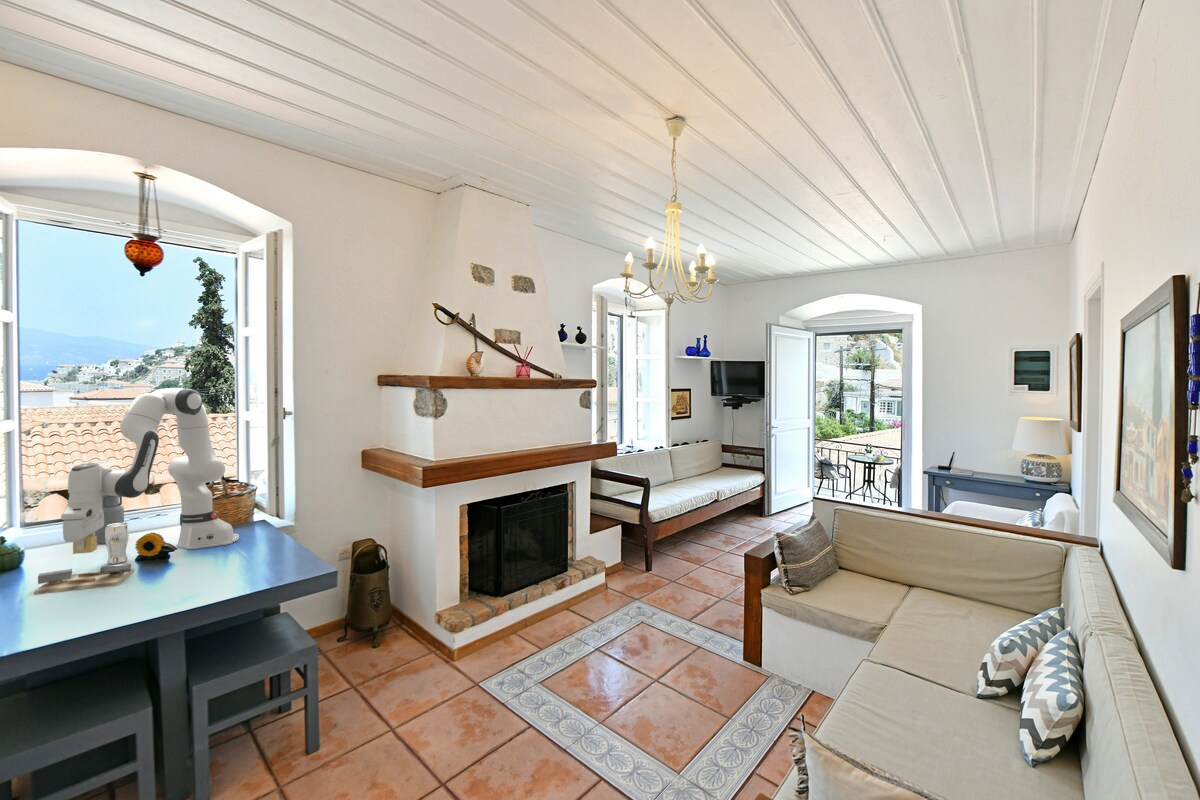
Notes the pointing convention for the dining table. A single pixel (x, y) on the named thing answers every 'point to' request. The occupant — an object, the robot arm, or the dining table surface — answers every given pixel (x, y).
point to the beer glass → (116, 542)
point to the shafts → (68, 573)
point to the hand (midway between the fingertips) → (85, 547)
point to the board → (84, 582)
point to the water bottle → (110, 515)
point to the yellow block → (90, 545)
